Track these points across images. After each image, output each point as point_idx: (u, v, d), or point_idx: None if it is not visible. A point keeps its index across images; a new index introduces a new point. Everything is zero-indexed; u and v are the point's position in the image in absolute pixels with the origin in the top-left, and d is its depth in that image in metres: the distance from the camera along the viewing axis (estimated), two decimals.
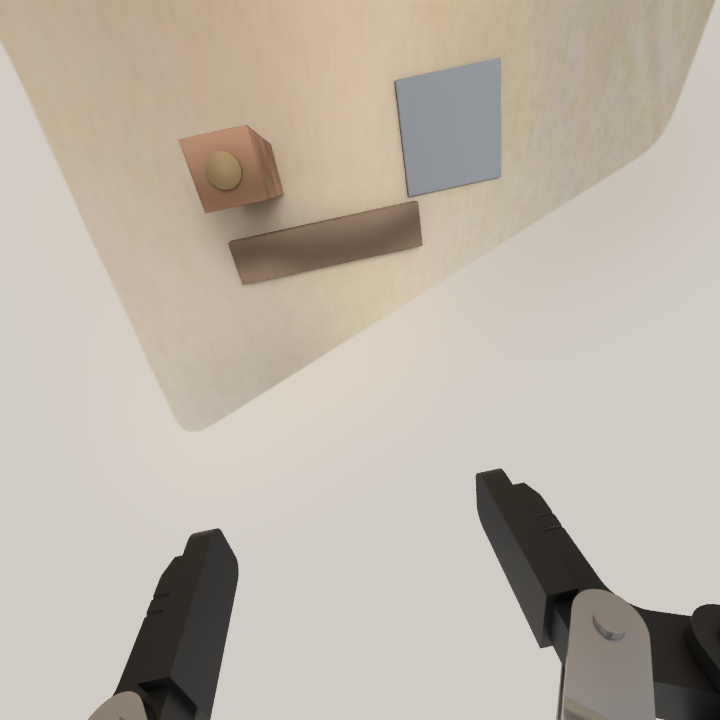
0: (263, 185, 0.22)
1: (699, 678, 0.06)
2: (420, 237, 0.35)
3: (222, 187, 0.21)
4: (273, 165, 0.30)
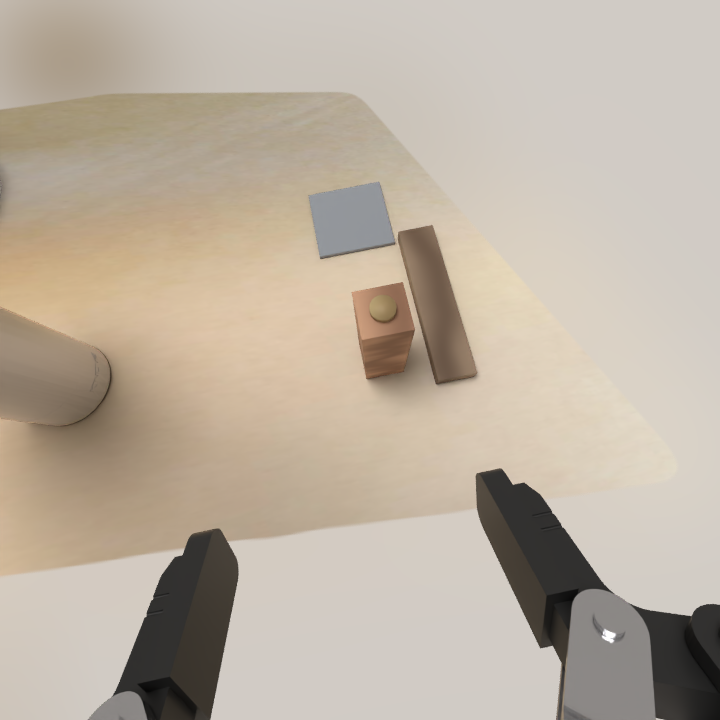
0: (392, 285, 0.28)
1: (699, 678, 0.06)
2: (426, 227, 0.41)
3: (395, 308, 0.26)
4: None
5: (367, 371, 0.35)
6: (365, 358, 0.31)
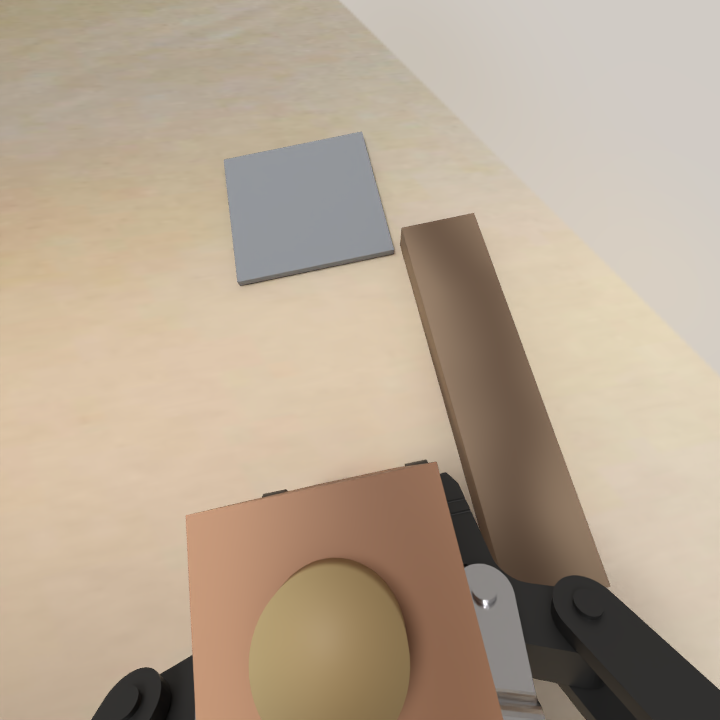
0: (386, 475, 0.06)
1: (553, 638, 0.07)
2: (460, 217, 0.19)
3: (401, 676, 0.04)
4: None
5: None
6: None
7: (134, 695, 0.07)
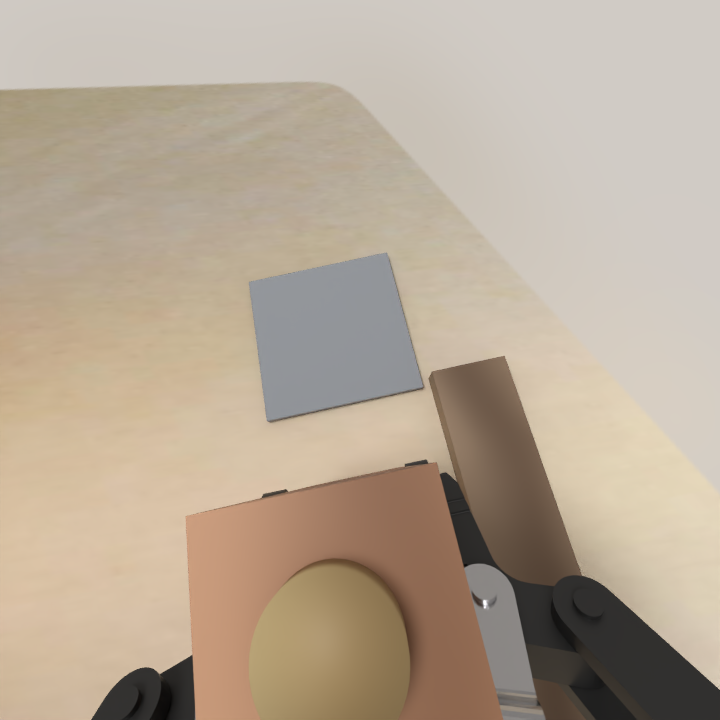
0: (386, 475, 0.06)
1: (553, 638, 0.07)
2: (491, 360, 0.19)
3: (401, 678, 0.04)
4: (347, 478, 0.15)
5: None
6: None
7: (134, 695, 0.07)
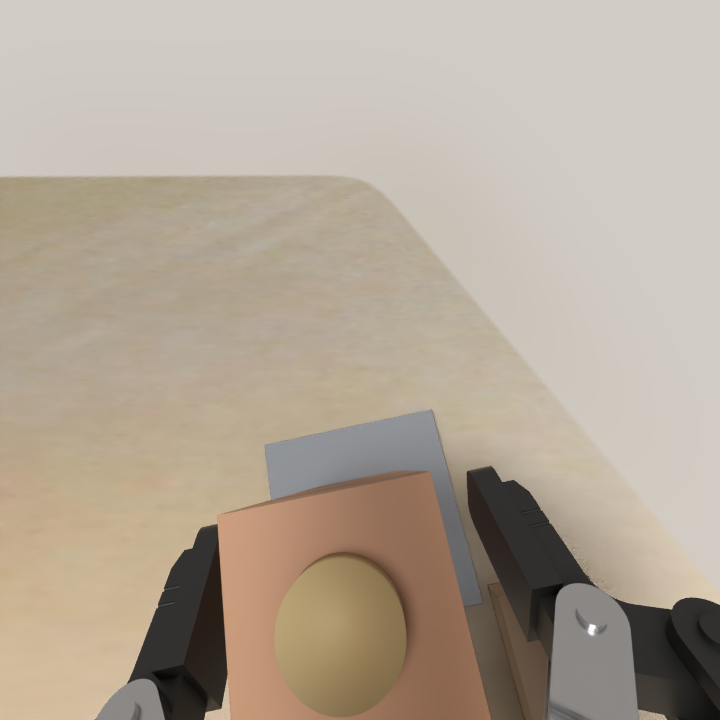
0: (387, 482, 0.07)
1: (678, 669, 0.06)
2: None
3: (399, 648, 0.05)
4: None
5: None
6: None
7: None
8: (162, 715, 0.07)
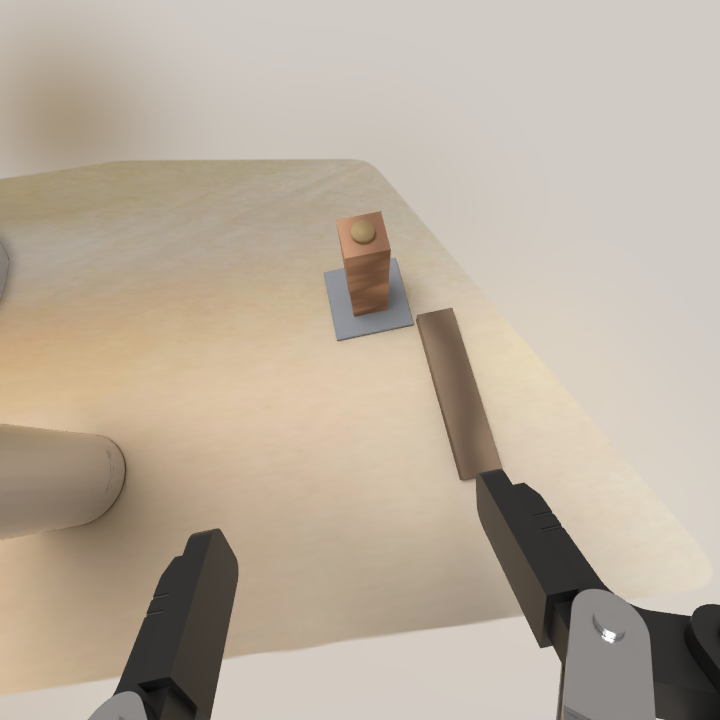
0: (371, 214, 0.32)
1: (699, 678, 0.06)
2: (445, 310, 0.40)
3: (373, 231, 0.30)
4: None
5: (353, 305, 0.39)
6: (350, 285, 0.35)
7: None
8: None
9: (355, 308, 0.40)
